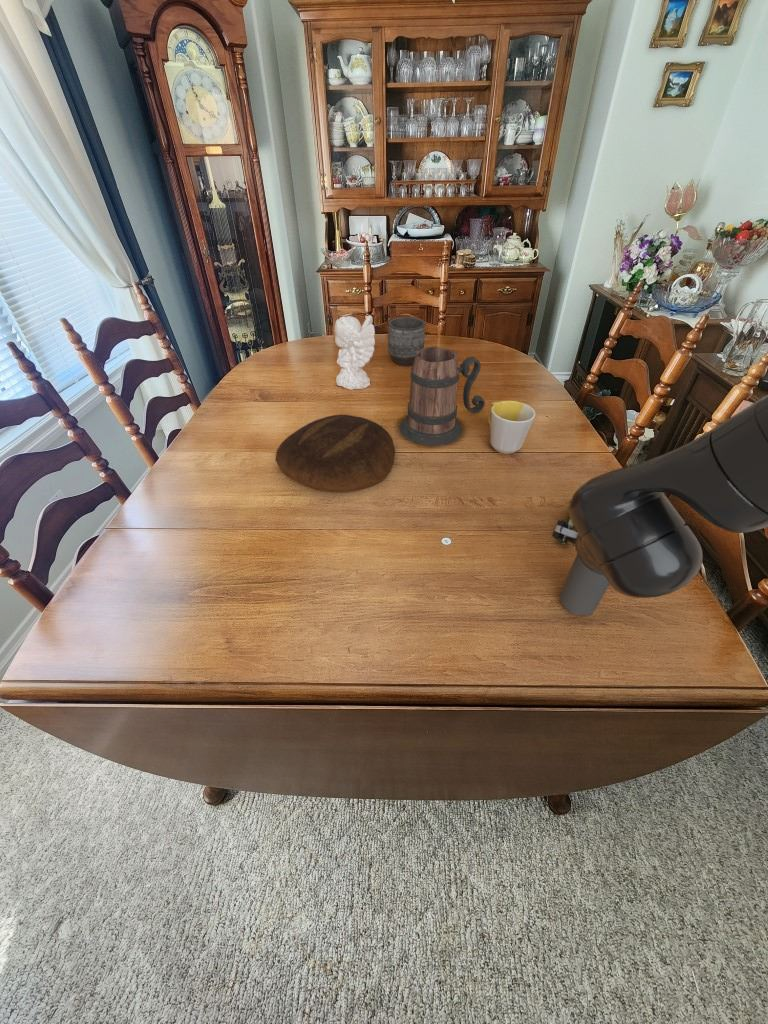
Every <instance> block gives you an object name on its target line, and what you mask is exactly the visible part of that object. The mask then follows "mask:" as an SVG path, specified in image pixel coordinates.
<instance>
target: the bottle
mask: <svg viewBox="0 0 768 1024" xmlns="http://www.w3.org/2000/svg"><path fill="white" fill-rule="evenodd" d="M609 586H610V583H609V582H608V580H607V579H606V577H605V576H604V575H600V574H597V573H595V572H593V571H591V570H590V569H588V568H587V567H586V566H585V565H584V564H583V563H582V561H581V560H580V558H579V556H578V554H577V553H576V556H575V558H574V560H573V563H572V565H571V567H570V569H569V571H568V574H567V576H566V579H565V581H564V582H563V586H562V588H561V590H560V592H559V600H560V602H561V605H562V606H563V607H564V608H565V609H566V610H567V611H568V612H570V613H572V614H574V615H578V616H589V615H591V614H593V613H594V612H595V611H596V610H597V608H598V606H599V604H600V602H601V601H602V599H603V597H604V595H605V594H606V592H607V590H608V588H609Z"/></svg>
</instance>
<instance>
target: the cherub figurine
mask: <svg viewBox="0 0 768 1024" xmlns="http://www.w3.org/2000/svg"><path fill="white" fill-rule="evenodd" d="M373 320H374V318H373V316H372V315H371V314H369V315H367V317H366V318H365V319H364V321H363V322H362V325H361V322H360V321H359V318H356V317H355V316H352V315H346V316H344V315H343V316H341V317H340V318H338V319H336V321H335V323H334V334H335V335H334V336H335V337H334V343H335V345H336V346H337V347H338V348H339V349H338V357H337V359H336V364H337V365H339V367H340V368H341V369H340V372H339V374H337V375H336V377H335V383H336V385H337V386H339V387H342V388H344V389H347V390H351V391H352V390H359V391H360V390H363V389H364V390H365V389H366V388H368V387H370V386H371V383H370V382H371V379H370V378H369V377H368V374H367V372H366V371H365V370H364V369H363V368H364V367H366V366H367V365H366V364H369V363H370V361H371V359H372V358H373V355H374V353H375V345H376V339H375V335H376V330H375V325H374V324H373Z"/></svg>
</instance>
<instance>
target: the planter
mask: <svg viewBox="0 0 768 1024" xmlns="http://www.w3.org/2000/svg"><path fill="white" fill-rule="evenodd" d="M425 335H426V321H425V320H423V319H422V318H419V317H414V316H398V317H395V318H392V319H390V320H388V322H387V351H388V355H389V356H390V358H391V360H392V362H393V363H394V364H396V365H398V366H401V367H409V366H411V367H412V366H413V363H414V359H415V354H416V353H417V352H418V351H419V350H420V349H422V348H425V337H426V336H425Z"/></svg>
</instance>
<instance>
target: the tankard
mask: <svg viewBox="0 0 768 1024" xmlns="http://www.w3.org/2000/svg"><path fill="white" fill-rule="evenodd" d="M472 364H473V367H472V369H471V368H470V366H471V365H472ZM481 368H482V365H481V362H480V360H479V359H477V358H476V357H475V356H468V357H466V358H465V359H464V360H462V362H461V363H460V364H459V355H458V353H457V352H455V351H454V350H452V349H448V348H443V347H439V346H426V347H425V346H424V348H422V349H420V350H419V351H418V352H417V353H416V354H415V359H414V363H413V365H412V366H411V368H410V387H409V399H408V400H409V401H408V403H407V411H406V412H407V415H405V418H404V419H403V420H401V422H400V424H399V431H400V434H401V435H402V436H403V437H404V438H405V439H407V440H408V441H410V442H413V443H416V444H419V445H424V446H441V445H442V446H443V445H447V444H451V443H452V442H455V441H457V440H458V439H459V438H460V437H461V436H462V434H463V426H462V424H461V423H460V421H459V420H458V418H457V415H458V404H457V403H458V388H459V380H460V376H461V375H462V376H463V377H464V378H466V380H465V383H464V386H463V391H462V402H463V405H464V407H465V409H466V410H467V411H468V412H470V413H471V414H473V415H474V414H475V415H476V414H479V413H480V412H481V411H482V410H483V409H484V407H485V405H486V400H485V399H484V398H483V397H482V396H481V395H475V396H473V397H472V399H471V402H472V403H471V404H472V405H473V406H472V407H471V405H470V394H471V390H472V387H473V384H474V383H475V382H476V379H477V378H478V376H479V374H480V371H481ZM470 369H471V371H470ZM460 374H461V375H460Z"/></svg>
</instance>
